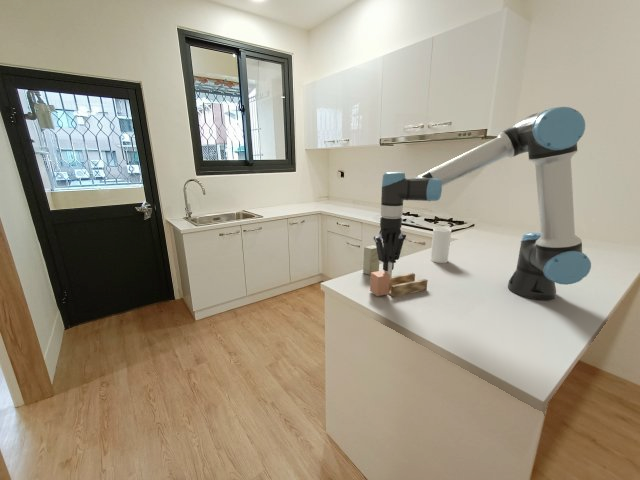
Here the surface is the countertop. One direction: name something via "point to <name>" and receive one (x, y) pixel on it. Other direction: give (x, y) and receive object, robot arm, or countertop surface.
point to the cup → (440, 245)
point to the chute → (406, 285)
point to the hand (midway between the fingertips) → (387, 278)
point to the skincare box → (370, 260)
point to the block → (379, 283)
